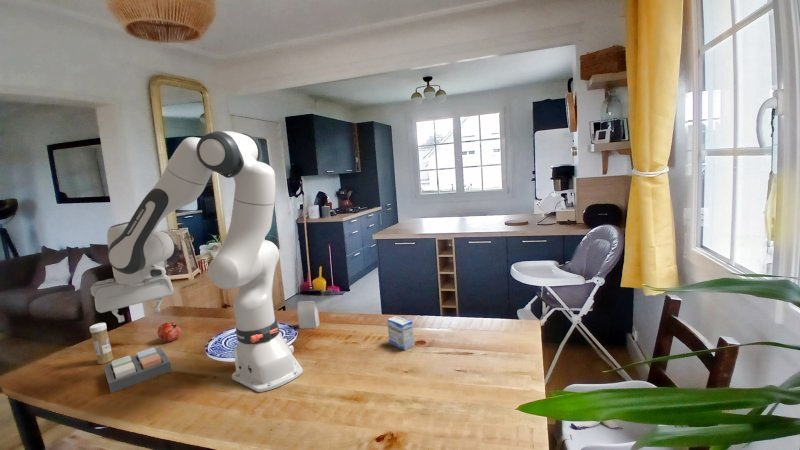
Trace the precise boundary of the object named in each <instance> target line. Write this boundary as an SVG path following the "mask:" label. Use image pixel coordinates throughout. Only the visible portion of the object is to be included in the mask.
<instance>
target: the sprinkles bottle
mask: <svg viewBox="0 0 800 450" xmlns="http://www.w3.org/2000/svg"><path fill="white" fill-rule="evenodd" d="M107 329H108V328H107V323H106V322H98V323H95V324H93V325H91V326H89V332H90V333H91V338H92V343H93V347H94V352H95V355H96V358H97V364H99V365H104V364H108V363H109V362H111V361H113V360H114V355H113V351H112V346H111V342H110V338H109V334H108V330H107Z"/></svg>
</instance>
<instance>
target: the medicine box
mask: <svg viewBox="0 0 800 450" xmlns="http://www.w3.org/2000/svg"><path fill="white" fill-rule="evenodd" d="M386 320H387V331H388V342H389V344H390V345H392V346H393V347H396V348H398V349H401V350H403V351H407V350H409V349H411V348H412V347H414V346H415V336H414V335H415V333H414V322H413V321H412V320H410V319H407V318H404V317H401V316H398V315H394V316H392V317H390V318H388V319H386Z"/></svg>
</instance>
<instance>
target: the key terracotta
mask: <svg viewBox="0 0 800 450" xmlns="http://www.w3.org/2000/svg"><path fill="white" fill-rule="evenodd" d="M140 361H141V366H142V368H143V369H146V368H149V367H152V366H154V365H157V364H160V363H162V360H161V357H160V356H159V354H155V355H152V356H149V357H146V358H143V359H140Z"/></svg>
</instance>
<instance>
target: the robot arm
mask: <svg viewBox="0 0 800 450" xmlns="http://www.w3.org/2000/svg"><path fill="white" fill-rule="evenodd" d="M261 155H262V149H261V146H260V144H259V142H258V141H257V140H256V138H254V136H252V135H250V134H247V133H244V132H236V131H232V130H231V131H230V130H226V131H225V130H223V131H212V132H209V133H207V134H204V135H203V136H202V137H196V136H189V137H186V138H184V139H183V140H182V141H181V143H179V145H178V146H177V148H176V149H175V150H174V152H173V154H172V155H171V157H170V158H169V160H168V163H167V165H166V166H165V168H164V171H163V173H162V174H161V176H160V177H159V179H158V181H157V182H156V184H155V185H154V186H153V187H152V188H151V190H150V191H148V193H147V194H146V196H145V197H144V198H143V199H142V201H141V202H140V204H139V205H138V206H137V208H136V210H135V211H134V213H133V215H132V216H131V218H130V220H129V221H125V222H121V223H118V224H113V225H111V226H110V227H109V228H108V229H107V233H106V241H107V249H108V251H107V261H108V263H109V264H110V266H111V267H112V272H113V278H108V279H104V280H99V281H96V282H95V283H93V284H92V285H91V286H90V294H91V296H92V297H94V305H95V310H96V311H97V313H100V314H102V313H106V312H111V313H112V314H113V315H114V316H115V317H116V318H117V320H118V324H119V323H123V322H126V321H125V316H124V314H121V315H120V314H118V313H119V309H123V308H127V307H131V306H134V305H137V304H138V305H139V304H143V303H146V302H150V301H156V305H155V306H153V307H152V309H153V313H154V314H156V313H160V312H161V309H160V307H161V304H162V303H163V298H166V297H169V296H172V295H173V294H174V287H173V283H172V281H171V279H170V277H169V276H168V275H167V271H166V268H164V267H163V266H161V265H157V264H159V263H161V262H164V261H167V260H168V259H170V258H171V257H172V256H173V255H174V253H175V242H174V239H173V238H172V236H171V235H170V234H168V233H167V232H166V231H163V230H156V229H157V227H158V225H159V224H160V222H162V220H163V219H164V218H166V217H167V216H168V215H170V214H171V213H173V212H175V211H177V210H179V209H181V208H183V207H186V206H188V205H190V204H192V203H194V202H196V200H198V198H199V197H200V196H201V194H202V193H203V192H204V190H205V188H206V186H207V184H208V181H209V180H210V178H211V175H212V173H213V172H215V173H216V174H219V175H221V176H223V177H224V178H226V179H231V178H233V181H234V185H235V186H234V195H233V201H232V209H231V211H232V212H231V217H230V223H229V227H228V230H227V233H226V235H225V238H224V240H223V242H222V245H221V246H220V248H219V251H218V252H217V253H216V255H215V256H214V257H213V259H212V260H211V261H210V263H209V264H208V265H209V266H208V268H207V269H208V271H207V272H208V277H209V280H211V282H212V284H214V285H215V286H216V287H217V288H219V289H222V290H232V289H236V288H238V290H237V291H238V292H237V294H236V296H235V298H234V301H233V311H234V316H235V322H236V323H235V324H236V328H235V336H236V339H237V341H238V342H237V344H236V346H235V348H234V349H233V352H234V361H235V364H234V365H235V371H234V372H233V373H232V374H231V379H232V380H234V381H235V382H237V383H239V384H241V385H243V386H245V387H246V388H247V387H248V388H249V389H251V390H253V391H255V392H258V393H262V392H267V391H270V390H273V389H277V388H278V387H281V386H283V385H285V384H288V383H289V382H291V381H293V380H294V379H297V378H298V377H299V376H301V375H302V374H303V372H304V369H303V367H302V365H300V363H299V361H298V360H297V359H296V357H295V356H294V355H293V354H294V352H295V348H294V346H293V345H288V344H287V343H288V339H287V338H284V337H283V335H282V332H281V331H280V328H279V323H278V321H277V319H276V317H275V309H274V303H273V302H274V301H273V284H274V276H275V270H276V267H277V264H278V262H279V260H280V251H279V248H278V246H277V245H276V244H275V243H274V242H272V241H270V240H266V239H265V238H266V237H267V235H268V233H269V232H270V230H271V228H272V224H273V223H272V222H273V216H274V210H275V208H274V207H275V202H276V172H275V170H274V168H273V167H272V166H270V165H269V164H267V163H265V162H261V161H260V159H261Z"/></svg>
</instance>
